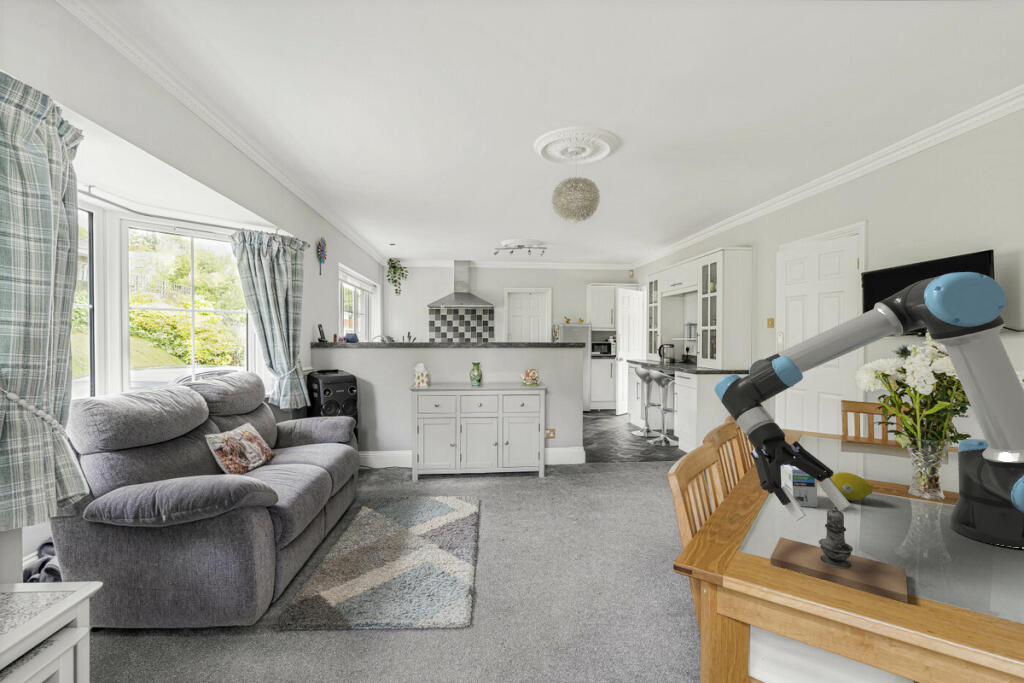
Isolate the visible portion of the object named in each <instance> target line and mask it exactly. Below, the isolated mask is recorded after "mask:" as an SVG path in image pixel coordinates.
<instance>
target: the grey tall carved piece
mask: <svg viewBox="0 0 1024 683" xmlns="http://www.w3.org/2000/svg"><path fill="white" fill-rule="evenodd" d="M844 518H845V516H844V513H843V512H842V511H839V510H838V509H837V507H836V506H835V505H834V506H833V508H831V509H828V510H827V511H826V523H825V524H824V527H825V528H826V536H825V538H821V539H819V540H818V544H819V545H820V546H819V547H821V549H822V551H823V553H824V554H825V555H822V556H821V557H820V559H821V561H822V562H824V563H825V564H827V565H830V566H832V567H836V568H842V569H847V568H850V567H851V563H850V562H849V561H847V560H846V559H848V558H849V557H850V555H852V552H853V551H854V547H852V545H851V544H849V543H847V542H846V540H845V532H847V528H846V527H845V523H844V522H845V519H844Z"/></svg>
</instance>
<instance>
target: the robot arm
mask: <svg viewBox="0 0 1024 683" xmlns="http://www.w3.org/2000/svg"><path fill="white" fill-rule="evenodd" d="M1006 300H1007V297H1006V293H1005V290H1004V289H1003V287H1002V286H1001V285H1000V284H999V282H998V281H996V280H995V279H994V278H992V277H990V276H988V275H986V274H982V273H979V272H973V271H965V272H964V271H963V272H962V271H961V272H960V271H958V272H950V273H945V274H943V275H939V276H936V277H931V278H925V279H922V280H919V281H915V283H913V284H911V285H908V286H906V287H905V288H904V289H902V290H899V291H898V292H896V293H894V294H892V295H891V296H889V297H887V298H884V299H883V300H880V301H878V302H876V303H875V304H874V307H873V309H871V310H869V311H866V312H863V313H862V314H860V315H857V316H856V317H853V318H852V319H851V318H850V319H849V320H846V321H844V322H842V323H840V324H838V325H835V326H833V327H831V328H830V329H827V330H825V331H822V332H820V333H818V334H817V335H813V336H811V337H809V338H808V339H805V340H803V341H801V342H799V343H796V344H794V345H792V346H790V347H788V348H786V349H783V350H782V351H779V352H777V353H775V354H773V355H770V356H769V357H766V358H763V359H757V360H756V361H754V362H753V363H752V364H751V365H750V366H749V369H748V375H746V376H744V377H741V376H740V375H738V374H736V373H735V374H728V376H727V375H725V376H724V377H722V378H721V379H720V380H718V381H717V382H716V384H715V386H714V392H715V394H716V396H717V397H718V399H719V400H720V402H721V404H722V405H723V406H724V408H725V409H726V410H727V412H728V413H729V415H730V416H731V417H732V418H733V420H734V421H735V422H736V424H737V425H738V426H739V428H740V429H741V430H742V433H744V435H745V436H746V437H747V439H748V441H749V442H750V444H751V445H752V446H753V448H754V449H753V450H752V451H751V452H750V456H751V457H752V460H754V463H755V467H756V471H757V475H758V478H759V479H758V480H759V482H760V483H761V484H760V487H761V489H762V490H763V491H767V493H769V495H770V494H771V495H772V494H774V495H775V496H776V497H777V499H778V500H779V502H780V503H781V504H782V505H783V506H784V507H785V508H786V510H787V511H788V513H789V514H790V516H792V518H793V520H794V521H795V522H798V521H800V520H801V519H803V518H804V517H806V516H807V513H806V512H805V511H804V509H803V508H802V506H800V505H799V504H798V502H797V501H796V500H795V498H794V497H793V495H792V494H791V493H790V491H789V490H788V489H787V487H786V486H783V487H782V488H781V486H782V485H781V466H782V465H790V466H795V467H797V468H798V469H800V470H802V471H803V472H805V473H807V474H808V475H810V476H811V477H813V478H815V479H816V480H817V482H819V483H818V485H819V487H820V488H821V489H822V491H823V492H824V493H825V494H826V496H827V497H828V498H829V500H830V501H831V502H832V503H833V505H834V506H836V507H837V510H839V511H840V512H842V511H843V510H845V509H847V508H848V507H850V506H851V503H850V501H848V500H846V498H845V497H844V496H843V495H842V493H841V492H840V491H839V489H838V487H837V486H836V485H835V484H834V483H833V481H832V480H831V477H832V476H833V475H834V474H835V473H834V471H833V470H832V469H831V468H830V467H828V466H827V465H826V464H825V463H823V462H822V461H820V460H819V459H818V458H816V457H815V456H814V455H813V454H812V453H811V452H809V451H808V450H806V449H805V448H804V447H803V446H802V445H801V443H799V442H798V441H797V440H796V441H794V442H792V443H791V444H789V443H788V442H787V441H786V433H785V432H784V431H783V430H782V429H781V427H780V426H779V425H778V423H776V422H775V419H774V418H773V417H772V415H771V414H770V413H769V412H768V410H767V409H766V408H765V407H764V406H763V405H762V403H763V402H766V401H767V400H769V399H771V398H773V397H774V396H777V395H779V394H780V393H782V392H784V391H786V390H788V389H790V388H792V387H794V386H795V385H796V384H798V383H800V382H801V381H803V378H804V375H803V373H805V372H808V371H809V370H812V369H814V368H817V367H819V366H821V365H823V364H826V363H828V362H831V361H833V360H835V359H838V358H841V357H842V356H844V355H847V354H849V353H852V352H854V351H856V350H859V349H860V348H863V347H866V346H868V345H870V344H873V343H875V342H877V341H879V340H882V339H885V338H887V337H889V336H891V335H896V336H901V335H903V334H907V333H908V332H913V331H914V330H919V329H923V328H926V329H927V332H928V334H929V336H930V338H931V340H932V341H933V342H936V343H938V344H940V345H942V346H944V348H945V350H946V352H947V355H948V357H949V359H950V362H951V364H952V366H953V368H954V371H955V374H956V376H957V378H958V379H959V382H960V384H961V387H962V389H963V391H964V393H965V396H966V398H967V400H968V402H969V405H970V407H971V409H972V411H973V414H974V417H975V418H976V420H977V423H978V425H979V428H980V429H981V433H982V434H983V436H984V439H981V438H980V439H979V438H978V439H977V438H965V439H962V440H960V441H959V443H958V450H957V455H958V457H957V458H958V464H957V465H958V466H957V467H958V498H957V501H956V502H955V504H954V507H953V509H952V511H951V513H950V515H949V525H948V526H949V528H950V529H951V528H952V529H951V530H952V531H953V532H956V533H958V534H959V533H960V534H959V535H961V536H964V537H966V536H967V538H969V539H972V540H975V541H978V540H979V542H981V541H983V542H982V543H985V542H987V543H986V544H988V543H992V544H999V545H1004V546H1011V547H1019V548H1022V547H1024V387H1023V386H1022V384H1021V381H1020V378H1019V377H1018V375H1017V372H1016V371H1015V368H1014V365H1013V364H1012V362H1011V359H1010V357H1009V354H1008V353H1007V351H1006V349H1005V346H1004V344H1003V341H1002V339H1001V337H1000V335H999V334H1000V331H1002V329H1003V328H1004V327H1005V325H1006V324H1005V322H1004V319H1003V316H1002V312H1003V309H1004V307H1006V304H1007V303H1006V302H1007V301H1006ZM766 481H767V482H766ZM992 544H991V545H992Z"/></svg>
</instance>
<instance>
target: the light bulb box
mask: <svg viewBox="0 0 1024 683" xmlns="http://www.w3.org/2000/svg"><path fill="white" fill-rule="evenodd" d="M781 485H782V486H781V488H782V487H783V486H786V487H787V489H788V490H789V491H790V493H791V494H792V495H793V497H794V498H795V500H796V501H797V502H798V504H799V505H800V507H806V506H807V507H809V508H818V507H819V506H818V504H819V503H818V480H816V479H815V478H813V477H811V476H810V475H808V474H807V473H805V472H803V471H802V470H800V469H798V468H797V467H795V466H790V465H782V466H781Z"/></svg>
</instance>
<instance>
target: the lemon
mask: <svg viewBox="0 0 1024 683" xmlns="http://www.w3.org/2000/svg"><path fill="white" fill-rule="evenodd" d="M830 479H831V480H832V481H833V483H834V484H835V485H836V486H837V487H838V489H839V491H840V492H841V493H842V495H843V496H844V497H845V498H846V500H847V501H848V502H850V501H851V502H853V501H860V500H863V499H865V498H867V496H869V495H872V494H873V489H874V485H873V484H872V483H870V482H869V481H867V480H866V479H864V478H863V477H862V476H860V475H857V474H855V473H851V472H844V471H843V472H841V471H840V472H835V473H834V474H833V476H831V477H830Z"/></svg>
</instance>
